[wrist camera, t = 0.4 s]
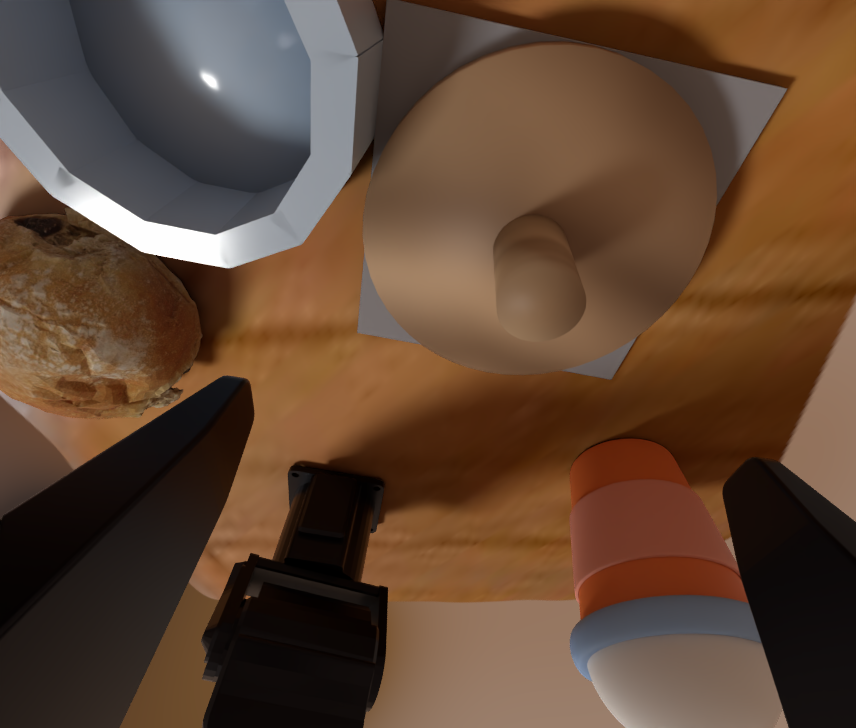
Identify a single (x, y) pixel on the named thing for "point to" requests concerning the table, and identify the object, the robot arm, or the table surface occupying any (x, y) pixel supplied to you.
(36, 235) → the bread roll
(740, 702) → the cup with straw
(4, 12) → the bowl
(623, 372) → the table surface
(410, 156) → the lid
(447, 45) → the mat
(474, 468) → the table surface
